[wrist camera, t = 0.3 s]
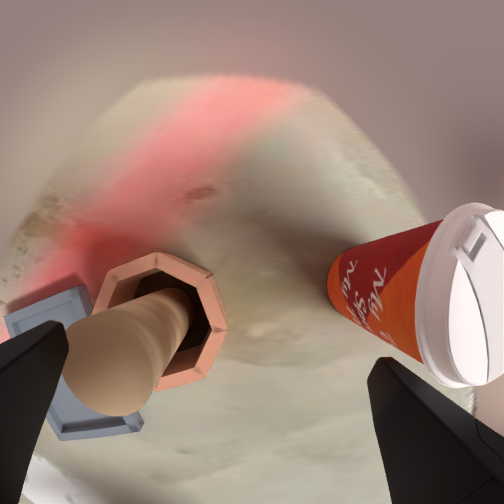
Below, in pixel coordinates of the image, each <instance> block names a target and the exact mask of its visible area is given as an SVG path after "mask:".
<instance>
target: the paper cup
mask: <svg viewBox="0 0 504 504" xmlns="http://www.w3.org/2000/svg"><path fill="white" fill-rule="evenodd" d="M327 291H328V295H329V298H330V301H331V302H332V304H333V306H334V307H335V308H336V309H337V310H338V311H339V312H340V313H341V314H342V315H344V316H345V317H347V318H348V319H349V320H351V321H353V322H354V323H356V324H357V325H359V326H361V327H362V328H364V329H366V330H367V331H369V332H371V333H372V334H374V335H375V336H377V337H379V338H380V339H382V340H384V341H385V342H387V343H389V344H390V345H392V346H394V347H395V348H397V349H399V350H401V351H402V352H404V353H406V354H407V355H409V356H411V357H412V358H414V359H416V360H417V361H419V362H421V363H422V364H424V365H425V367H426V369H427V370H428V372H429V373H430V374H431V376H432V377H433V378H434V379H435V380H436V381H438V382H439V383H441V384H442V385H444V386H448V387H451V388H463V387H467V386H481V385H485V384H487V383H489V382H491V381H493V380H494V379H496V378H497V377H499V376H500V375H502V374H503V373H504V211H502V210H498V209H493V208H492V207H490V206H487V205H485V204H481V203H469V204H464V205H462V206H460V207H458V208H456V209H454V210H453V211H452V212H451V213H450V214H448V215H447V216H446V217H445V219H443V220H440V221H436V222H433V223H430V224H427V225H424V226H420V227H417V228H414V229H411V230H407V231H404V232H401V233H397V234H394V235H391V236H387V237H384V238H381V239H378V240H375V241H371V242H368V243H365V244H362V245H359V246H356V247H353V248H351V249H348V250H346V251H345V252H343V253H342V254H341V255H339V256H338V257H337V258H336V260H335V261H334V262H333V264H332V266H331V268H330V270H329V273H328V278H327Z"/></svg>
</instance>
